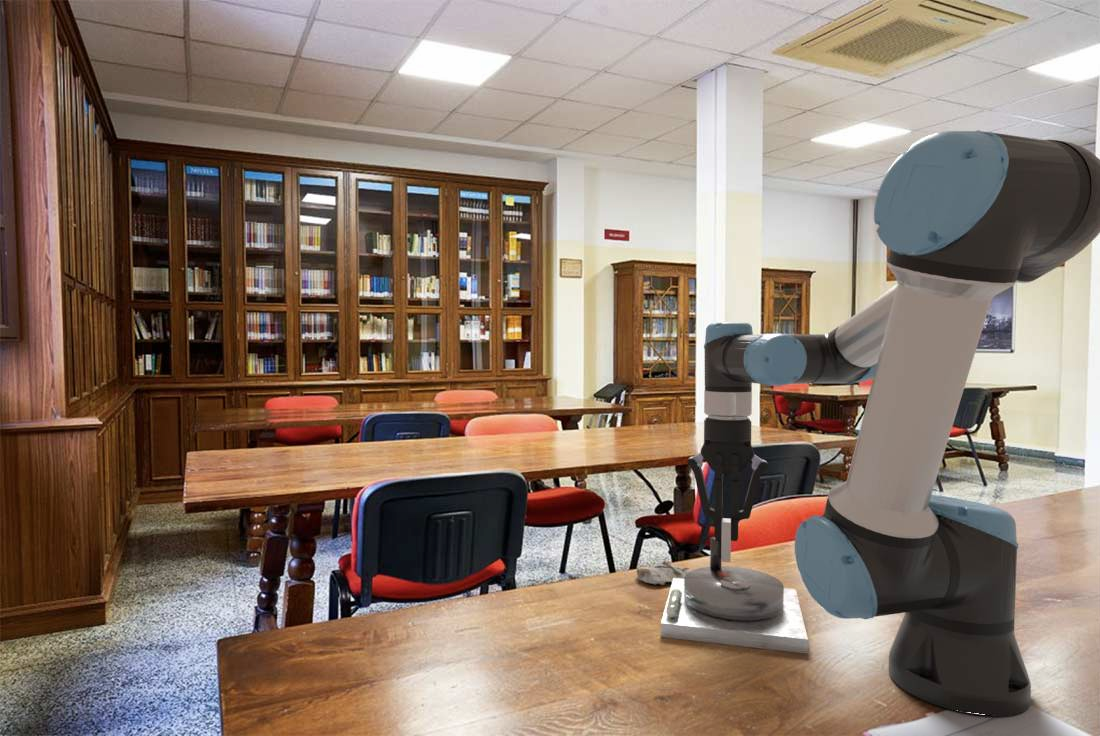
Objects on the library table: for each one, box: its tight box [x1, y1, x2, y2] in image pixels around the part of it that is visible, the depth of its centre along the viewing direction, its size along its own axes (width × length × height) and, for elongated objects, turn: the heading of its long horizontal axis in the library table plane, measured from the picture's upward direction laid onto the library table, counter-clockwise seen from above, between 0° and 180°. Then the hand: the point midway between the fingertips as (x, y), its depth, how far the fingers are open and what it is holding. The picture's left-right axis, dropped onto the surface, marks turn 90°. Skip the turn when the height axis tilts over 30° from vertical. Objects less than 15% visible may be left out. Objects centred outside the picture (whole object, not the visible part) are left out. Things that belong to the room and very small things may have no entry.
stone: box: [636, 560, 691, 586], centre depth 122 cm, size 10×7×3 cm
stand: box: [660, 578, 809, 655], centre depth 105 cm, size 20×20×4 cm
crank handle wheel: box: [684, 536, 785, 620], centre depth 106 cm, size 15×15×8 cm
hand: (725, 559), depth 112 cm, fingers closed
